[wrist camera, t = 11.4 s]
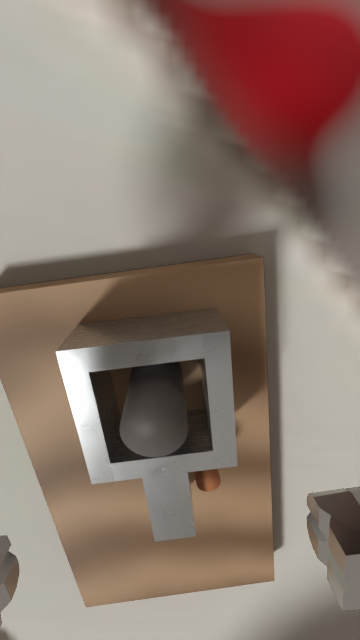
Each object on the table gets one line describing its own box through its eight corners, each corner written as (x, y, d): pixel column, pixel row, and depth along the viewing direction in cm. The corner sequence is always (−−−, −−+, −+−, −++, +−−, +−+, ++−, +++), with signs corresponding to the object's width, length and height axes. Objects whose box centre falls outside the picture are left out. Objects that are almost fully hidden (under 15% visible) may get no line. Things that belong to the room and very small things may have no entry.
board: (267, 557, 22) (300, 666, 16) (91, 581, 22) (67, 699, 16) (253, 253, 14) (305, 274, 9) (-11, 289, 14) (-113, 331, 9)
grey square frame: (78, 323, 14) (55, 351, 11) (216, 307, 14) (229, 330, 11) (118, 492, 17) (109, 547, 14) (228, 478, 17) (241, 530, 14)
